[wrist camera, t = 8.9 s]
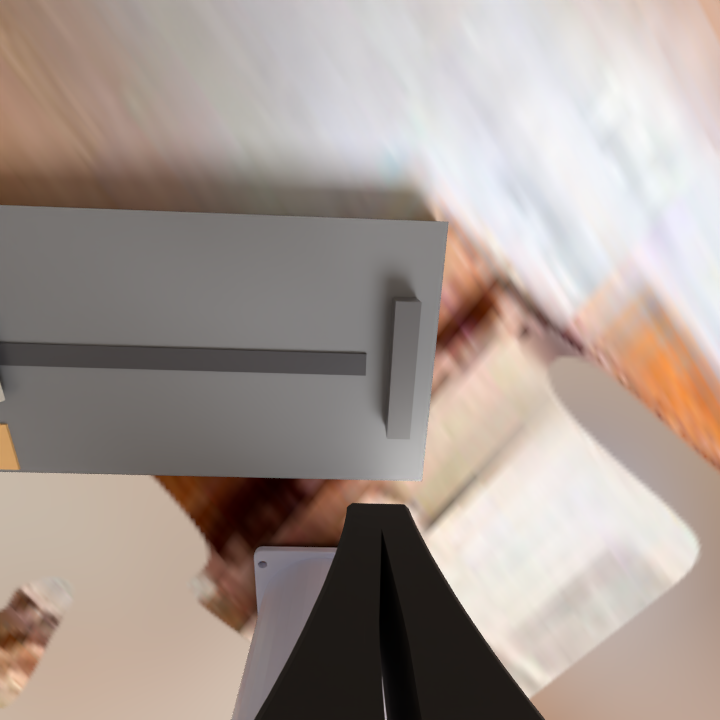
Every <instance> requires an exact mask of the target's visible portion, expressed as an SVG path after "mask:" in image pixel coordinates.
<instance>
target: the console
mask: <svg viewBox="0 0 720 720" xmlns="http://www.w3.org/2000/svg"><path fill="white" fill-rule="evenodd" d="M447 231H448V222H440V221H413V220H386V219H360V218H333V217H307V216H280V215H253V214H227V213H200V212H174V211H147V210H120V209H94V208H67V207H41V206H14V205H0V383H1V387H2V390H3V394H4V397H5V400H4V401H2V402H0V472H37V473H38V472H39V473H83V474H84V473H85V474H126V475H129V474H130V475H171V476H215V477H260V478H304V479H349V480H393V481H422V476H423V466H424V456H425V446H426V437H427V427H428V417H429V407H430V397H431V388H432V378H433V368H434V358H435V349H436V339H437V329H438V319H439V309H440V300H441V290H442V280H443V270H444V261H445V251H446V241H447Z"/></svg>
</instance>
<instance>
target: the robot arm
mask: <svg viewBox="0 0 720 720" xmlns="http://www.w3.org/2000/svg"><path fill="white" fill-rule="evenodd" d="M261 561H265V562H261ZM254 569H255V583H256V597H257V611H258V618H257V622H256V626H255V630H254V634H253V638H252V642H251V645H250V649H249V653H248V657H247V661H246V665H245V669H244V673H243V676H242V680H241V684H240V688H239V692H238V695H237V699H236V703H235V708H234V711H233V715H232V719H231V720H545V719H544V718H543V716H542V715H541V714H540V713H539V711H538V710H537V709H536V708H535V706H534V705H533V704H532V703H531V701H530V700H529V699H528V697H527V696H526V695H525V694H524V692H523V691H522V690H521V688H520V687H519V686H518V684H517V683H516V682H515V680H514V679H513V678H512V676H511V675H510V674H509V672H508V671H507V670H506V668H505V667H504V666H503V664H502V663H501V662H500V660H499V659H498V657H497V656H496V655H495V653H494V652H493V650H492V649H491V648H490V646H489V645H488V643H487V642H486V641H485V639H484V638H483V636H482V635H481V633H480V632H479V630H478V629H477V627H476V626H475V624H474V623H473V621H472V620H471V618H470V617H469V615H468V614H467V612H466V611H465V609H464V608H463V606H462V605H461V603H460V602H459V600H458V598H457V597H456V595H455V594H454V592H453V590H452V589H451V587H450V585H449V584H448V582H447V580H446V579H445V577H444V575H443V574H442V572H441V571H440V569H439V567H438V565H437V564H436V562H435V560H434V558H433V557H432V555H431V553H430V551H429V549H428V548H427V546H426V544H425V542H424V540H423V538H422V536H421V534H420V532H419V530H418V528H417V526H416V524H415V522H414V520H413V518H412V516H411V513H410V511H409V509H408V508H407V507H406V506H405V505H404V504H363V503H352V504H351V505H349V506H348V507H347V513H346V519H345V523H344V528H343V531H342V535H341V538H340V541H339V544H338V547H337V548H330V547H276V546H261V547H258V548H257V549H256V550H255V553H254Z"/></svg>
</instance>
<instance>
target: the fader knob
mask: <svg viewBox="0 0 720 720" xmlns="http://www.w3.org/2000/svg"><path fill="white" fill-rule="evenodd" d="M4 400H5V397H4V394H3V390H2V387H1V383H0V402H2V401H4Z"/></svg>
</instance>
